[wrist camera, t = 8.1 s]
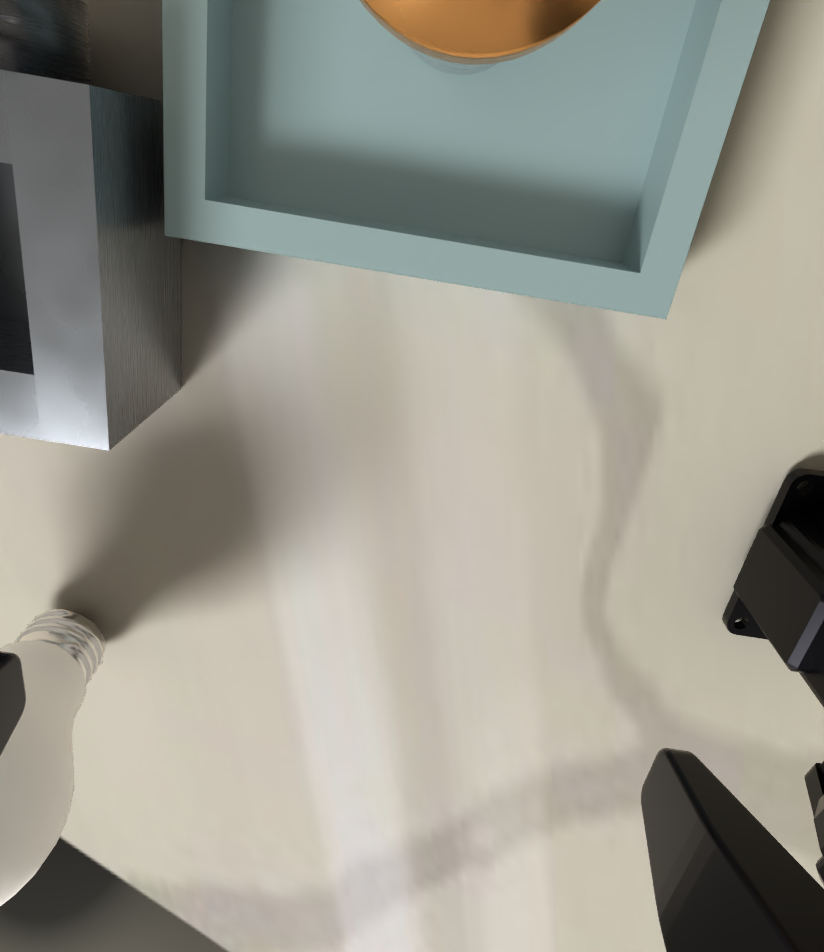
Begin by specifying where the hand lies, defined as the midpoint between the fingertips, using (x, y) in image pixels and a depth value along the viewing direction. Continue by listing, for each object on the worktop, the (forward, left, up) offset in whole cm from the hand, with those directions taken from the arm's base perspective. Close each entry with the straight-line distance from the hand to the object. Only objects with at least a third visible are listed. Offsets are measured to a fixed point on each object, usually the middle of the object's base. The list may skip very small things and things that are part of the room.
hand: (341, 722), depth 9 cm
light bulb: (+11, +11, -13) cm, 20 cm away
